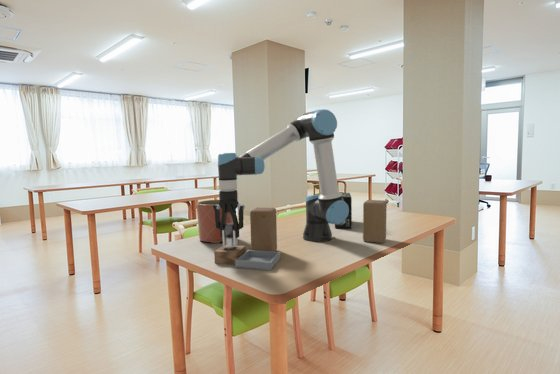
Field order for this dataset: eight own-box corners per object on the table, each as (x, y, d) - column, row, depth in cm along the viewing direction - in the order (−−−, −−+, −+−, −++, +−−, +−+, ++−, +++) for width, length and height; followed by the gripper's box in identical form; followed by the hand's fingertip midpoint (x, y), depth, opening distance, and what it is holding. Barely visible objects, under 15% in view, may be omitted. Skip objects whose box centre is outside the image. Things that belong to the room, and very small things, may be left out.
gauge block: (245, 257, 145) (245, 245, 144) (237, 264, 135) (236, 252, 135) (224, 255, 147) (224, 244, 147) (214, 263, 138) (214, 251, 137)
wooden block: (272, 256, 145) (271, 211, 143) (250, 255, 147) (249, 210, 145) (277, 249, 155) (276, 207, 153) (256, 249, 157) (255, 207, 155)
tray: (280, 258, 142) (280, 251, 142) (270, 270, 128) (270, 262, 127) (248, 256, 145) (247, 249, 145) (235, 267, 131) (235, 260, 131)
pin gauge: (237, 255, 143) (236, 223, 141) (233, 258, 139) (232, 225, 137) (228, 254, 144) (226, 223, 142) (224, 257, 140) (222, 225, 138)
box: (334, 220, 218) (334, 192, 216) (349, 221, 217) (349, 192, 215) (334, 228, 195) (334, 196, 194) (351, 229, 194) (351, 196, 192)
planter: (217, 246, 163) (216, 205, 161) (190, 241, 173) (188, 203, 171) (242, 237, 179) (241, 200, 177) (215, 233, 189) (214, 198, 187)
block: (386, 239, 170) (386, 200, 168) (383, 244, 161) (384, 203, 159) (366, 237, 174) (366, 199, 172) (362, 242, 165) (363, 202, 163)
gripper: (250, 189, 140) (252, 243, 142) (213, 188, 144) (215, 241, 146) (244, 191, 133) (246, 248, 135) (205, 190, 137) (207, 246, 139)
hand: (230, 244), depth 141 cm, fingers closed on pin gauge, 4 cm apart
